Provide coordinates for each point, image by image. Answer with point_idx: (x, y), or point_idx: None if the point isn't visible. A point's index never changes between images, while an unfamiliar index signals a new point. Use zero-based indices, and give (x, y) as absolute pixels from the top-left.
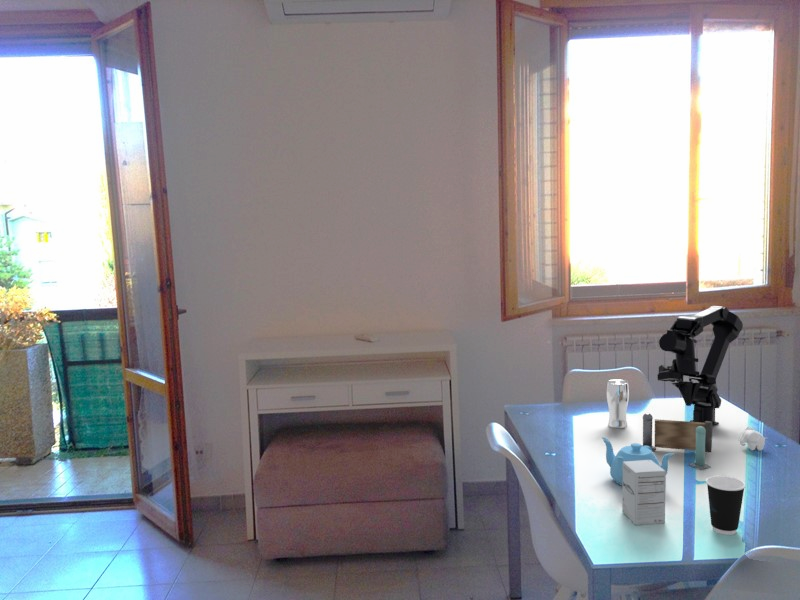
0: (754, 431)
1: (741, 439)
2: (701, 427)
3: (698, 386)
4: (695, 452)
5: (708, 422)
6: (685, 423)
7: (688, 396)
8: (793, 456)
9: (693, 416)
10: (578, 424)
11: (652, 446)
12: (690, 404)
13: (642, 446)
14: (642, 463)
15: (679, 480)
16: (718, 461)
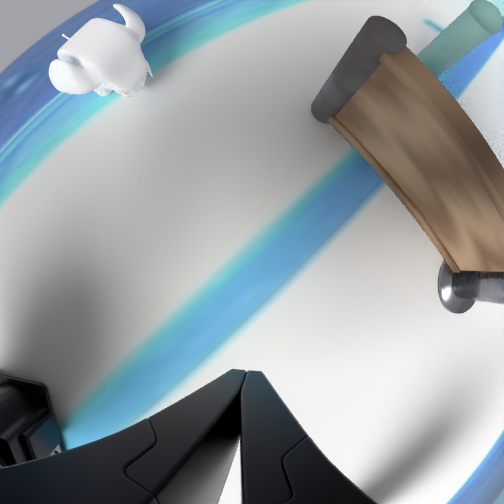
0: (82, 37)
1: (141, 67)
2: (493, 5)
3: (17, 489)
4: (450, 66)
5: (391, 29)
6: (475, 130)
7: (295, 423)
8: (91, 4)
9: (50, 451)
10: None
11: (443, 286)
12: (240, 372)
13: (464, 302)
14: None
15: (487, 75)
16: (339, 59)
